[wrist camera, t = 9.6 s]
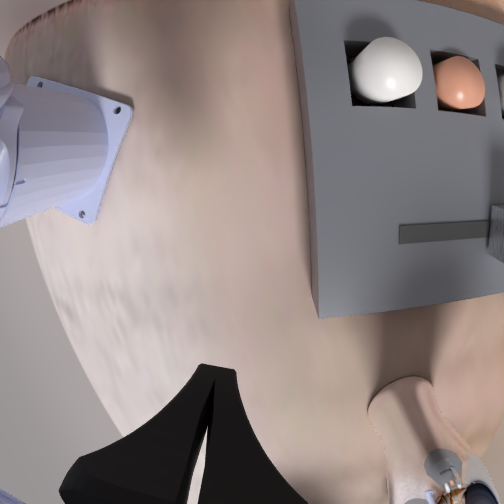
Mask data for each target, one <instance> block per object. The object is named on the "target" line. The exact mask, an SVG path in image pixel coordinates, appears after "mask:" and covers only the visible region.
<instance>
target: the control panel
mask: <svg viewBox="0 0 504 504" xmlns="http://www.w3.org/2000/svg"><path fill="white" fill-rule="evenodd" d="M289 15H290V22H291V29H292V37H293V44H294V52H295V60H296V68H297V77H298V85H299V95H300V104H301V115H302V125H303V136H304V148H305V161H306V174H307V189H308V206H309V224H310V246H311V275H312V298H313V301H314V304H315V308H316V311H317V314H318V318H319V319H323V318H333V317H343V316H352V315H361V314H369V313H378V312H386V311H393V310H401V309H408V308H415V307H422V306H428V305H435V304H441V303H447V302H453V301H459V300H465V299H471V298H476V297H481V296H487V295H492V294H497V293H502V292H504V263H502V262H500V261H499V260H497V259H495V258H494V257H492V256H490V255H488V248H489V238H490V227H491V213H492V205H504V120H503V119H502V112H501V103H500V95H499V88H498V81H497V76H498V75H503V74H504V25H502V24H500V23H497V22H494V21H491V20H488V19H485V18H482V17H479V16H476V15H473V14H470V13H466V12H463V11H460V10H456V9H452V8H448V7H445V6H440V5H436V4H432V3H427V2H423V1H418V0H291V1H290V7H289ZM381 37H392V38H396V39H398V40H401V41H402V42H404V43H406V44H407V45H408V46H409V47H411V48H412V49H413V51H414V52H415V53H416V55H417V56H418V58H419V60H420V63H421V66H422V72H423V73H422V81H421V84H420V86H419V87H418V89H417V90H416V91H415V92H413V93H412V94H409V95H407V96H404V97H401V98H398V99H395V100H394V106H395V107H375V106H352V101H351V92H350V83H349V75H348V68H347V60H346V56H357V55H359V54H360V53H361V52H362V51H363V50H364V49H365V48H366V47H367V46H368V45H369V44H370V43H371V42H372V41H374V40H375V39H378V38H381ZM454 56H462V57H465V58H467V59H469V60H470V61H471V62H473V63H474V64H475V65H476V67H477V68H478V69H479V71H480V73H481V75H482V77H483V80H484V83H485V96H484V99H483V101H482V102H481V104H480V105H478V106H476V107H473V108H466V109H460V113H456V112H448V111H438V104H437V95H436V87H435V80H434V73H433V67H432V64H437V63H440V62H442V61H444V60H447V59H449V58H451V57H454Z"/></svg>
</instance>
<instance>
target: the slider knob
mask: <svg viewBox="0 0 504 504" xmlns="http://www.w3.org/2000/svg"><path fill="white" fill-rule="evenodd" d="M488 255H490V256H492V257H494V258H495V259H497V260H499V261H500V262H502V263H504V205H492V213H491V227H490V238H489V248H488Z"/></svg>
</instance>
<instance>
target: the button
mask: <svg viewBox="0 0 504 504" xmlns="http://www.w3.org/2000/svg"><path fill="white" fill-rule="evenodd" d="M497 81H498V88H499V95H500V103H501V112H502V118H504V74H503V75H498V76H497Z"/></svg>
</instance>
